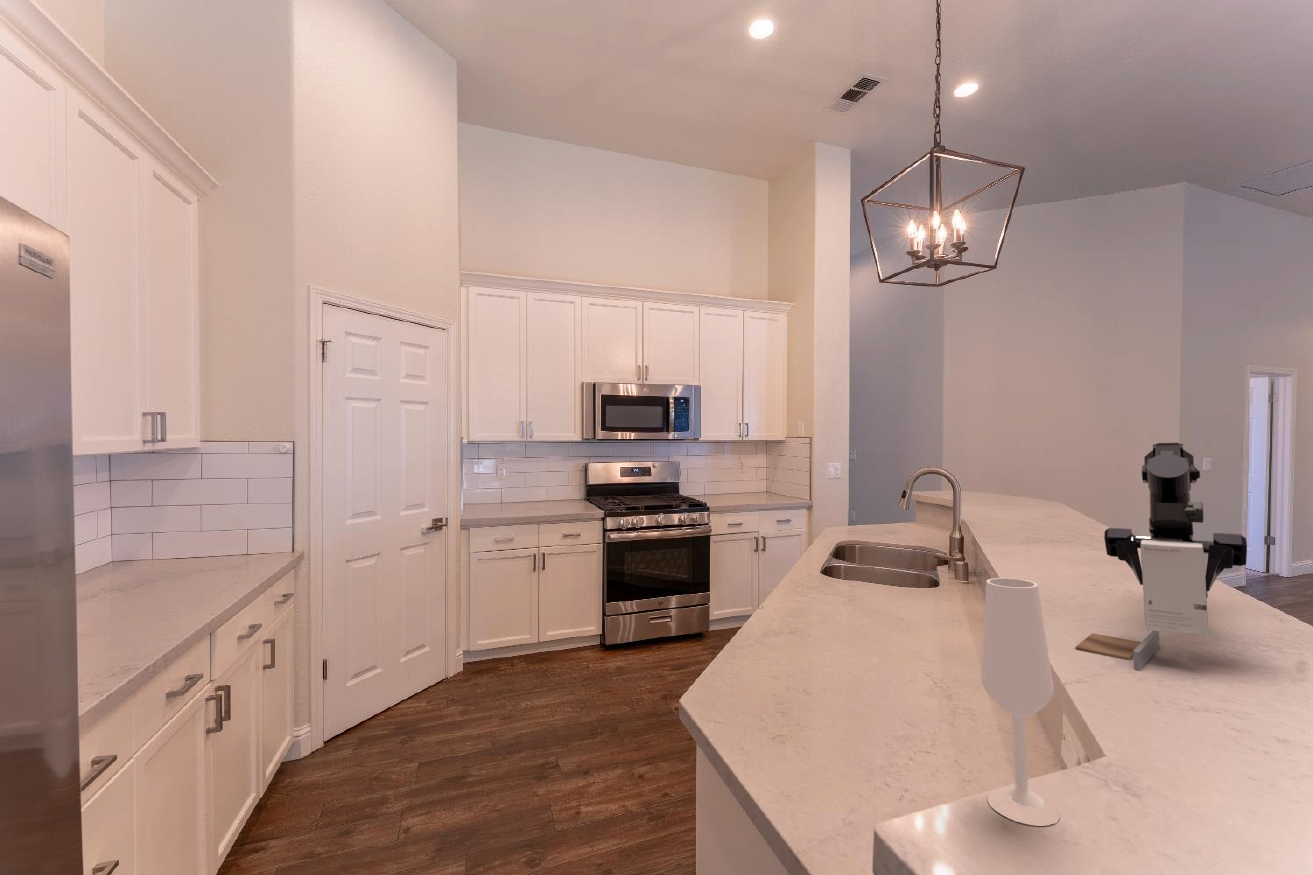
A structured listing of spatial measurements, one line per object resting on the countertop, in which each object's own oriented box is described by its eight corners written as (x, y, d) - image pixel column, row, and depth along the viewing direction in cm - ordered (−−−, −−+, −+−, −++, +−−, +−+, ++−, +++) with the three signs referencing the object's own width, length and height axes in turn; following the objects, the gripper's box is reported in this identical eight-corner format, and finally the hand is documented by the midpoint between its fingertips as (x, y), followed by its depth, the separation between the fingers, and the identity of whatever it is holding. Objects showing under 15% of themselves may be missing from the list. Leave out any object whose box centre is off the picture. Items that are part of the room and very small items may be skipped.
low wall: (1154, 645, 109) (1153, 629, 109) (1159, 646, 109) (1159, 630, 109) (1133, 669, 99) (1133, 651, 99) (1140, 670, 98) (1139, 652, 98)
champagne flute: (1058, 799, 64) (1047, 578, 65) (1061, 834, 59) (1049, 592, 59) (988, 782, 68) (978, 574, 68) (984, 814, 62) (974, 586, 63)
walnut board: (1092, 635, 116) (1092, 633, 116) (1144, 644, 110) (1143, 642, 110) (1075, 649, 109) (1075, 646, 109) (1129, 659, 103) (1129, 657, 103)
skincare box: (1145, 630, 101) (1136, 543, 101) (1147, 621, 105) (1138, 538, 106) (1213, 638, 95) (1202, 545, 96) (1211, 628, 99) (1202, 539, 100)
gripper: (1102, 484, 110) (1100, 553, 102) (1242, 486, 98) (1253, 564, 90) (1108, 521, 116) (1106, 589, 108) (1241, 526, 104) (1250, 604, 95)
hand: (1173, 586), depth 100 cm, fingers closed on skincare box, 8 cm apart
